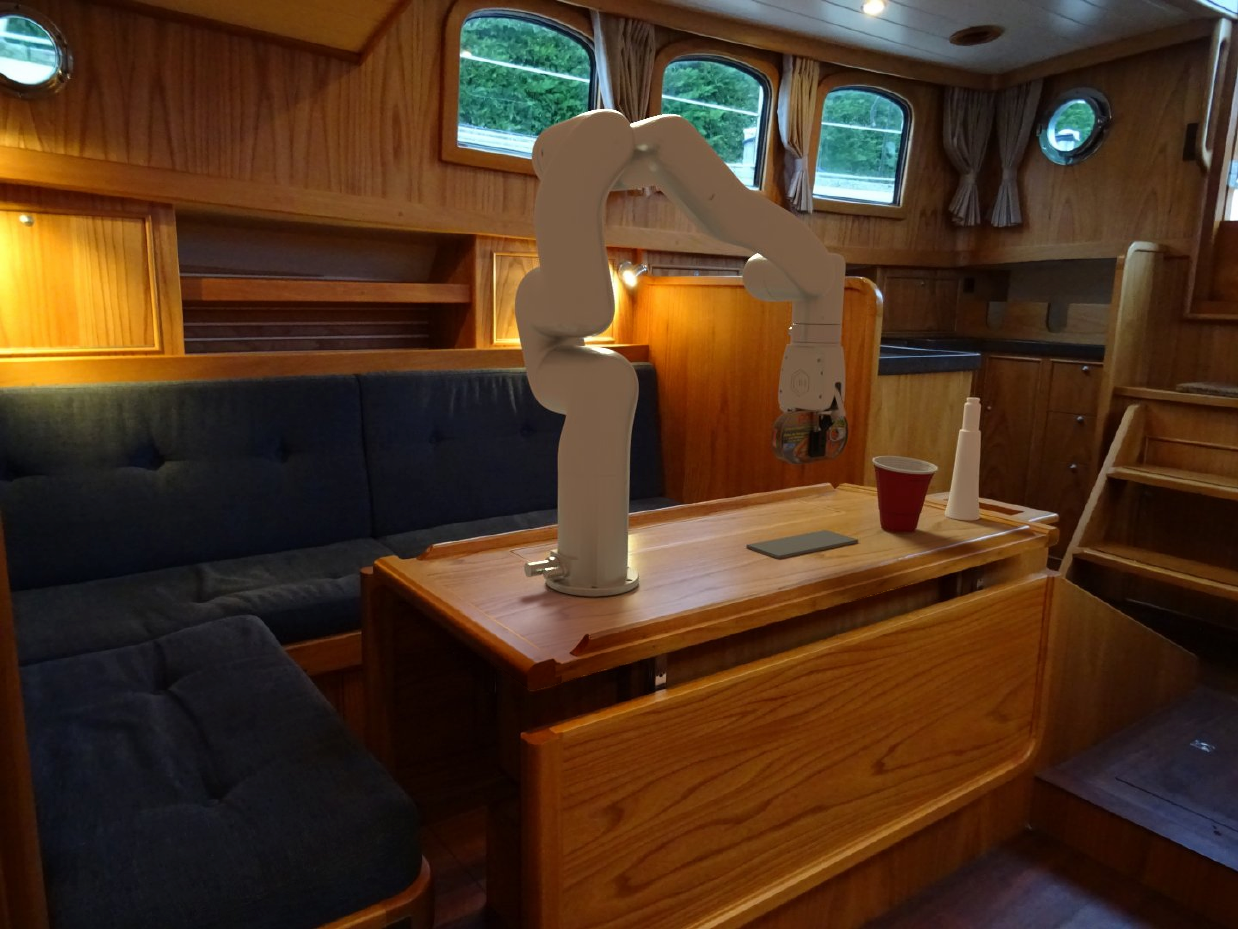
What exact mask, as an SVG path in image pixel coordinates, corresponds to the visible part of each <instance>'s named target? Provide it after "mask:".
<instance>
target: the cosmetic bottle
mask: <svg viewBox="0 0 1238 929" xmlns="http://www.w3.org/2000/svg"><path fill="white" fill-rule="evenodd" d="M980 401H981V399H980V398H979V397H966V402H965V403H964V405H963V406H964V407H963V416H962V417H963V418H962V428H961V429H959V433H958V438H957V439H958V440H957V445H956V452H955V457H954V458H955V461H954V467H953V473H952V478H951V479H952V480H951V484H950V485H951V486H950V490H949V495H948V496H949V497H948V499H947V500H948V501H947V503H946V504H947V505H946V508H945V511H944V516H945V517H947V518H949V519H953V520H958V521H967V522H969V521H978V520H979V519H981V515H980V514H981V513H980V504H979V503H980V500H979V499H980V498H979V497H980V496H979V492H980V491H979V489H980V488H979V485H980V484H979V483H980V464H981V461H980V460H981V440H982V439H981V438H982V431H981V430H980V421H981V420H980V419H981V411H982V410H981V408H982V405H981V403H980Z"/></svg>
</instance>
